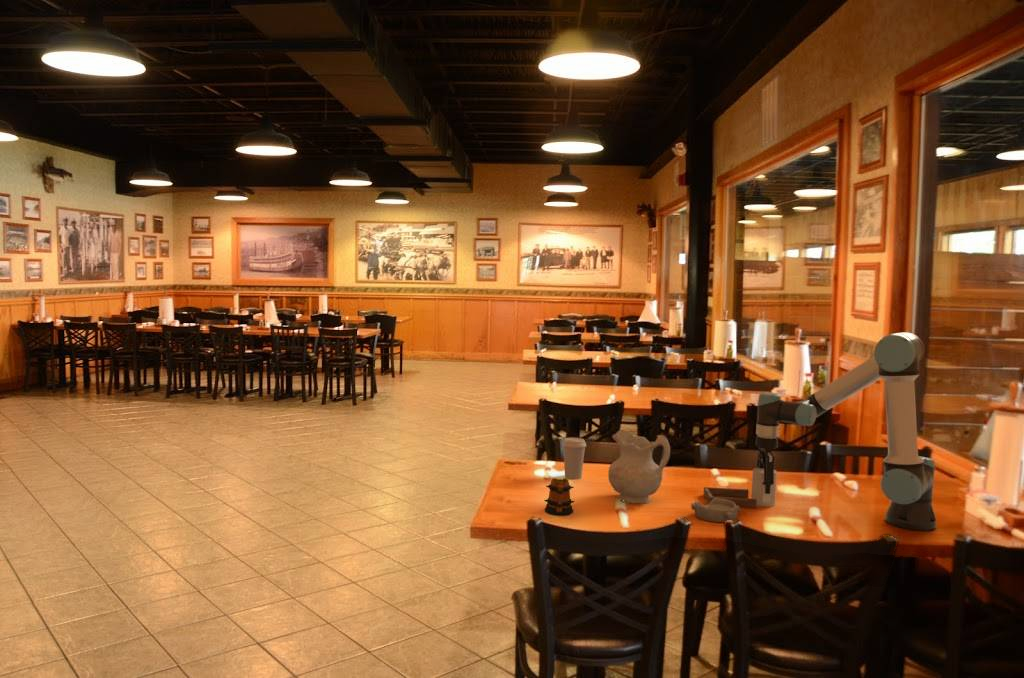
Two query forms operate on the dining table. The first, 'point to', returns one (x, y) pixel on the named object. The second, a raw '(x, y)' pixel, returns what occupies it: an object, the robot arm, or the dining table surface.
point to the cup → (758, 487)
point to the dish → (716, 510)
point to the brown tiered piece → (559, 498)
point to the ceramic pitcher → (637, 467)
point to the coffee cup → (573, 457)
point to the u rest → (729, 492)
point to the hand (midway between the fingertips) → (763, 498)
